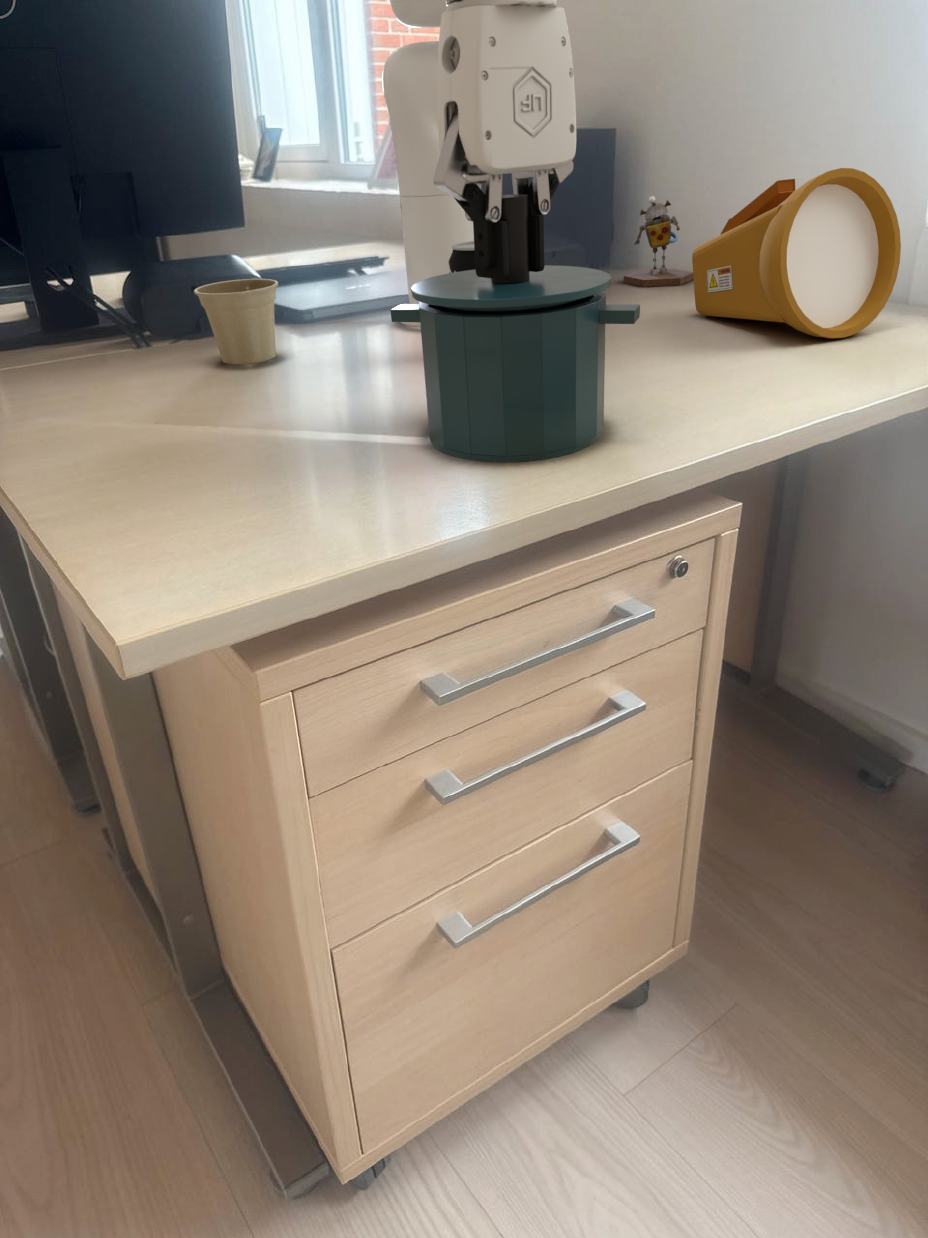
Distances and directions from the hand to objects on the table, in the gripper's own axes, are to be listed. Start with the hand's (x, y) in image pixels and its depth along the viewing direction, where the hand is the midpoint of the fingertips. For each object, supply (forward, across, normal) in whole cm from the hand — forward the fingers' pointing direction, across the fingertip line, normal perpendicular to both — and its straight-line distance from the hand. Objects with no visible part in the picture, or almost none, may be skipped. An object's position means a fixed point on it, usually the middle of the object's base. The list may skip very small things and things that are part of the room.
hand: (510, 271), depth 68 cm
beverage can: (+13, +16, +22) cm, 30 cm away
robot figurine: (+13, +66, +37) cm, 77 cm away
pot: (+13, 0, 0) cm, 13 cm away
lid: (+1, 0, 0) cm, 1 cm away
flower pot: (+13, -1, +44) cm, 46 cm away
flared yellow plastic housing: (+13, +48, +6) cm, 51 cm away
